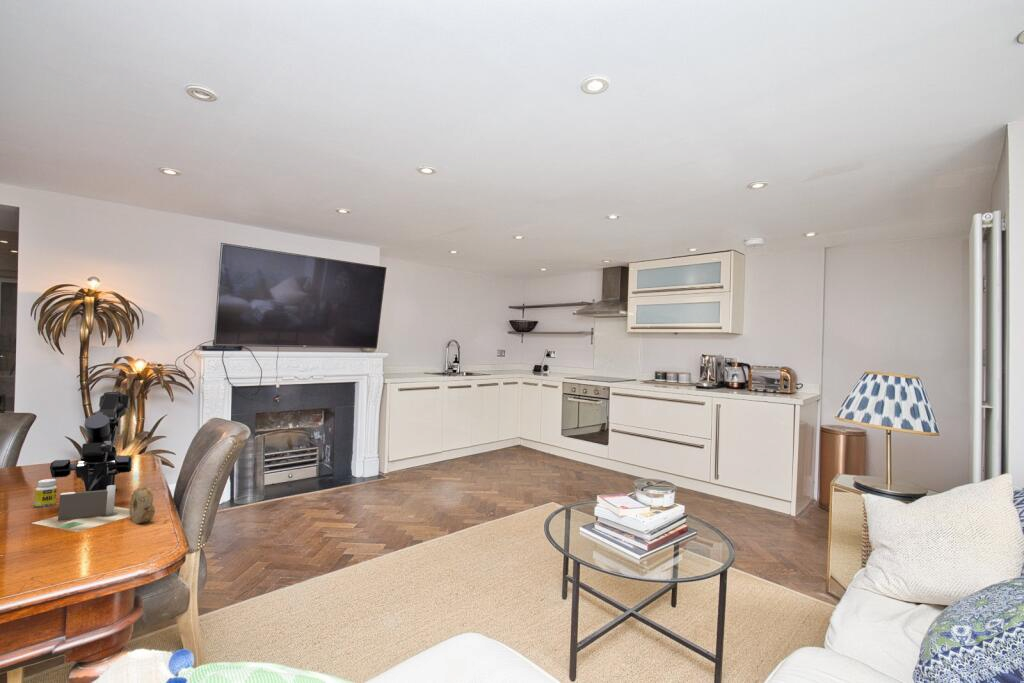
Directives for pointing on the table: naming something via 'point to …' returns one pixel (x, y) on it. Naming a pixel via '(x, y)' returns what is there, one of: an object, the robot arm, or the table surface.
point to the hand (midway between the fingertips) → (87, 490)
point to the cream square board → (85, 521)
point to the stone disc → (142, 505)
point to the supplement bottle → (45, 493)
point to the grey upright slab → (86, 503)
